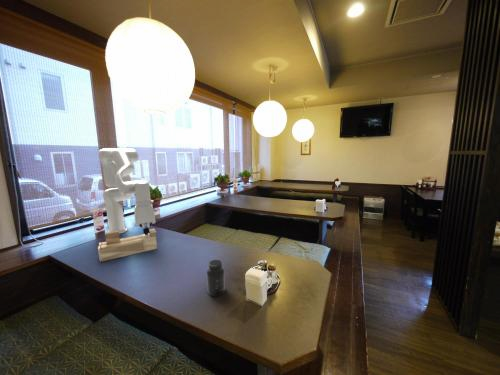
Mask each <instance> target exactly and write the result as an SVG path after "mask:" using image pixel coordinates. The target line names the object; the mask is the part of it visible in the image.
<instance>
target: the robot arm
mask: <svg viewBox="0 0 500 375" xmlns="http://www.w3.org/2000/svg"><path fill="white" fill-rule="evenodd" d="M98 159H99V161H100V163H101V165H102V171H103V172H102V174H103V181H104V185H105V186H106V187H108V189H105V190H104V191H103V193H102V196H103V197H102V198H103V200H104V204H105V209H106V217H107V224H108V230H107V232H111V231H117V230H119V235H121V234H124V233H127V231H128V228H127V227H125V219H124V210H123V206H122V205H121V204H120V203H119V202H122V201H127V200H128V201H129V200H130V199H131V198H132V196H133V195H134V196H135V197H134V200H135V205H134V212H133V213H134V223H135V224H134V227H140V228H142V231H143V234H145V235H148V233H149V230H150V227H151V226H152V225H154V224H156V217H155V215H156V213H155V209H154V207H153V206H154V205H153V203H154V200H152V199H151V188H150V183H149V182H148V181H144V180H142V179H141V180H140V179H139V180H132V178H131V175H130V174H131V173H133V172H134V170H135V166H134V164H133V163H134V162H135V163H136V162H138V160H139V153H138V152H137V150H136V149H134V148H118V147H117V148H115V147H113V148H112V147H111V148H110V147H108V148H107V147H106V148H105V147H104V148H102V149H100V150H99V151H98ZM145 224H146V226H145Z"/></svg>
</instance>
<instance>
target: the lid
mask: <svg viewBox="0 0 500 375" xmlns="http://www.w3.org/2000/svg"><path fill="white" fill-rule="evenodd" d="M120 235H121V234H119V230H117V231H111V232H105V234H104V236H105V241H103V242H101V250H105V249H110V248H115V247H119V246H124V245H129V244H134V243H139V242H142V234H139V235H133V236H128V237H120Z"/></svg>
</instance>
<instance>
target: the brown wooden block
mask: <svg viewBox="0 0 500 375" xmlns="http://www.w3.org/2000/svg"><path fill="white" fill-rule="evenodd" d="M149 234H150V237H155V236H156V237H157V231H156V229H155V228H149Z"/></svg>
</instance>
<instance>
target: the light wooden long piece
mask: <svg viewBox="0 0 500 375" xmlns="http://www.w3.org/2000/svg"><path fill="white" fill-rule="evenodd" d="M141 237H142V242H139V243H134V244H129V245H124V246H119V247H115V248H110V249H105V250H101V244H102V242H98V246H97V251H98V258H99V259H98V260H99V263H101V261H102V262H105V261H106V262H107V261H110V260H114V259H118V258H122V257H123V258H124V257H127V256H131V255H136V254H140V253H144V252H149V251H153V250H157V249H158V246H157V245H158V243H157V235H156V236H155V237H150V234H149V233H148V235H145V234H144V233H143V234H141Z"/></svg>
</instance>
